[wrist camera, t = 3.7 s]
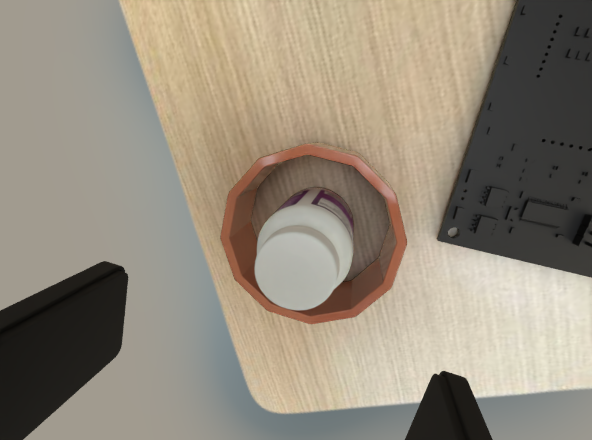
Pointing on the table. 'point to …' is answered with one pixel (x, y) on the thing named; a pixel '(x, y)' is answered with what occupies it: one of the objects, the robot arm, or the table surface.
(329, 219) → the pill bottle
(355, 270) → the table surface
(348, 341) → the table surface
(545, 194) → the circuit board
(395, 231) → the terracotta faceted ring
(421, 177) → the table surface
